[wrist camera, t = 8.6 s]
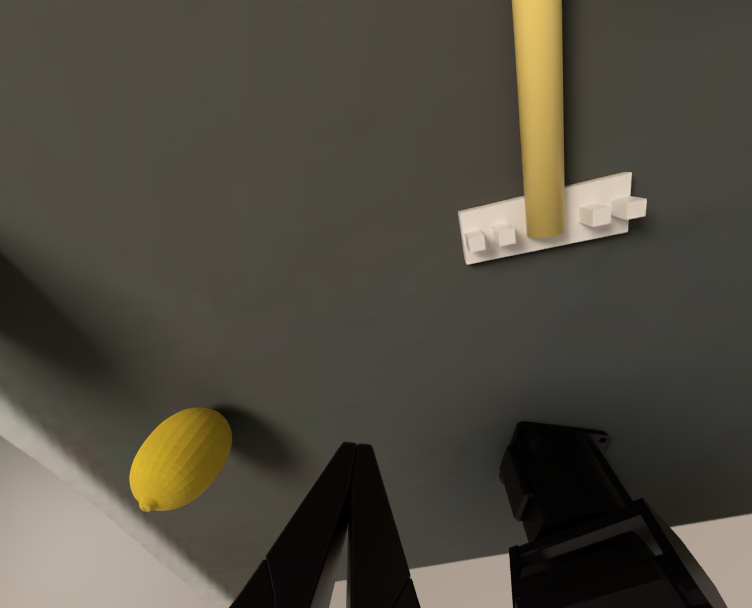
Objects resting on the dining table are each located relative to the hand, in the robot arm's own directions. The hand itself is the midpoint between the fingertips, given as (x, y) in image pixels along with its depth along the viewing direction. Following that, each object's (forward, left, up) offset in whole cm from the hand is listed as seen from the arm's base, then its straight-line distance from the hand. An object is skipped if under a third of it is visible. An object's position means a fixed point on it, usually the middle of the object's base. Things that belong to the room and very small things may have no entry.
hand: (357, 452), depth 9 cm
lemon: (+13, +12, -13) cm, 22 cm away
